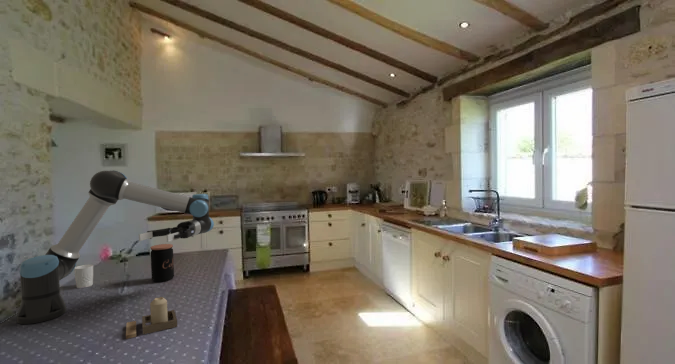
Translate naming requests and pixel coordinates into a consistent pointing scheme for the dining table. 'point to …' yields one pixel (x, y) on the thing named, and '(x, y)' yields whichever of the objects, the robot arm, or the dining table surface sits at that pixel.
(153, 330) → the wooden tray
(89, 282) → the white cup
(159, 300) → the candle
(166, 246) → the coffee jar
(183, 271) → the dining table surface
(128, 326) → the strip
